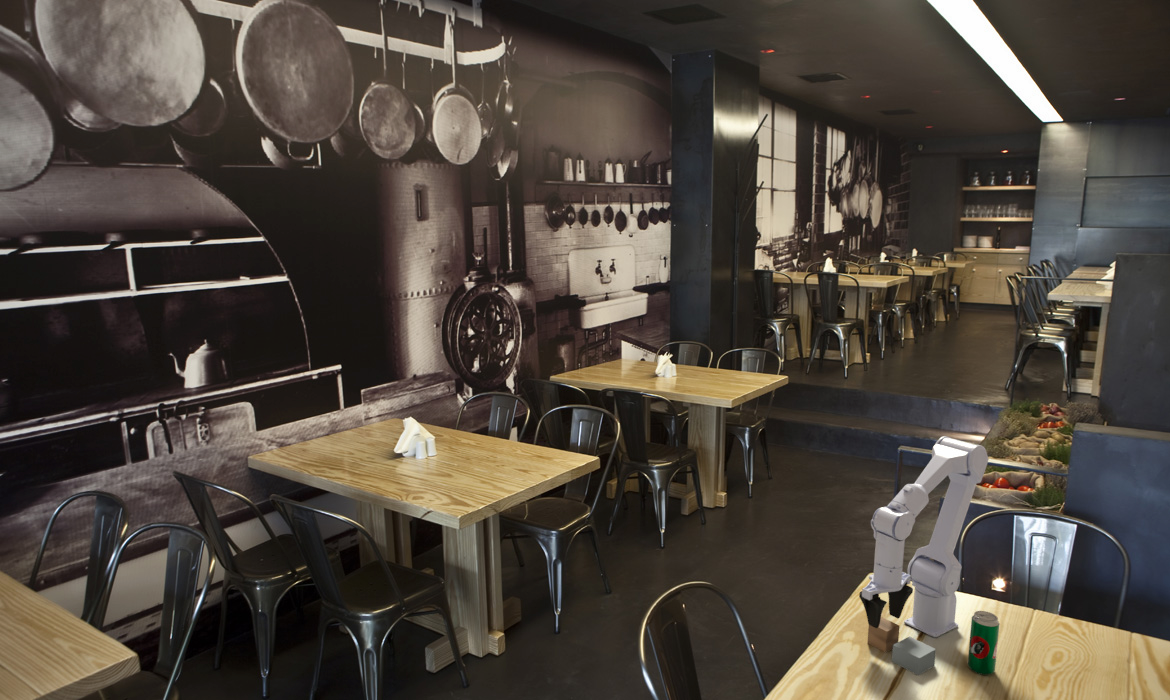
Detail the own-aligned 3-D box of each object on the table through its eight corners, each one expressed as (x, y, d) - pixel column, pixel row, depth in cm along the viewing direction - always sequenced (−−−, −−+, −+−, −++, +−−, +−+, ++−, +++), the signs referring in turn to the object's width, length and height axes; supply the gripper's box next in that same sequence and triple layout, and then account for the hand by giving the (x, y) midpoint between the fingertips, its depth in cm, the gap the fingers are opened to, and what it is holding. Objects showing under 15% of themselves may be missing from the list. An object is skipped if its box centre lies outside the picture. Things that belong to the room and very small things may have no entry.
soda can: (998, 677, 152) (1003, 623, 150) (971, 674, 153) (976, 620, 151) (990, 663, 157) (995, 611, 155) (964, 661, 158) (969, 608, 156)
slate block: (908, 653, 161) (909, 636, 160) (934, 666, 156) (935, 649, 155) (891, 662, 157) (893, 644, 157) (918, 676, 153) (919, 658, 152)
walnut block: (879, 637, 167) (881, 616, 166) (897, 646, 163) (899, 625, 162) (867, 643, 164) (868, 622, 164) (885, 652, 161) (886, 631, 160)
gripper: (892, 548, 168) (888, 604, 170) (851, 563, 160) (847, 622, 162) (921, 560, 162) (916, 617, 164) (880, 576, 154) (875, 636, 156)
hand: (884, 621), depth 163 cm, fingers open, 7 cm apart
